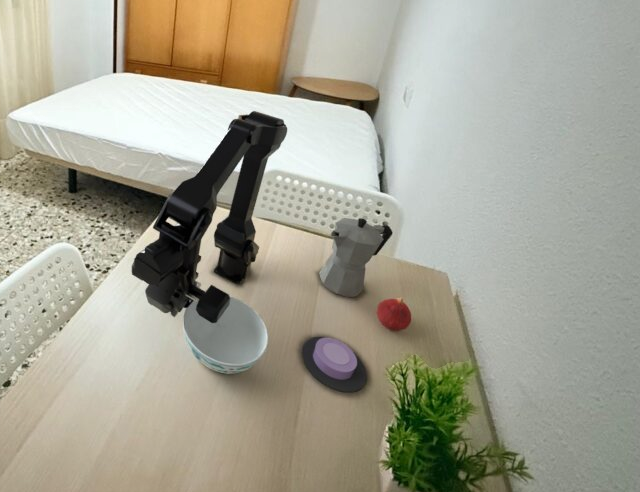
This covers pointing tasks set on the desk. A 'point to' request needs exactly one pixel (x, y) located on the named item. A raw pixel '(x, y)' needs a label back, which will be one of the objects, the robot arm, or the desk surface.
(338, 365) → the purple disc
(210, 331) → the chinaware
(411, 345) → the desk surface
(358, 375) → the coaster
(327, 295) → the desk surface
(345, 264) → the coffeepot
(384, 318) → the red pomegranate
